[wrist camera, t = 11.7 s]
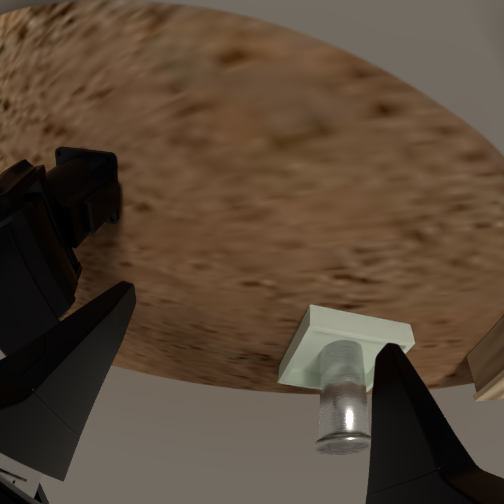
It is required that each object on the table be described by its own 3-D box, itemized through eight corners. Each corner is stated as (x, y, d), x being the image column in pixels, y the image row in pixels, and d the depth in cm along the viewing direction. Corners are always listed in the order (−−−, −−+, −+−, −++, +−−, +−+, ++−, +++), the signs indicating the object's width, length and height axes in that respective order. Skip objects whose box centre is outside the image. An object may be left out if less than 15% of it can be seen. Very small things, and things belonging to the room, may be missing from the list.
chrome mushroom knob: (308, 355, 31) (302, 450, 22) (340, 331, 28) (343, 436, 19) (342, 369, 32) (343, 456, 23) (374, 348, 29) (383, 443, 20)
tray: (279, 365, 34) (277, 382, 32) (310, 304, 27) (310, 324, 25) (362, 377, 34) (364, 394, 32) (410, 324, 27) (414, 343, 25)
